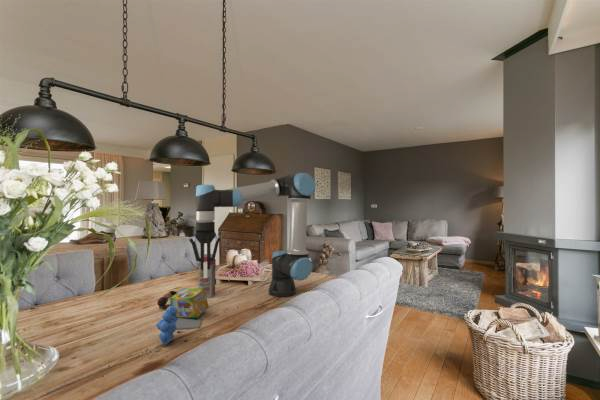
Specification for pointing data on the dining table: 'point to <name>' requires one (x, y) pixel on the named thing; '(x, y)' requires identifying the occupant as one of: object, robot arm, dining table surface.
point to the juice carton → (210, 280)
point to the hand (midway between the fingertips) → (205, 277)
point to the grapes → (167, 325)
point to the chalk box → (190, 302)
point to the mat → (188, 322)
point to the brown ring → (165, 299)
